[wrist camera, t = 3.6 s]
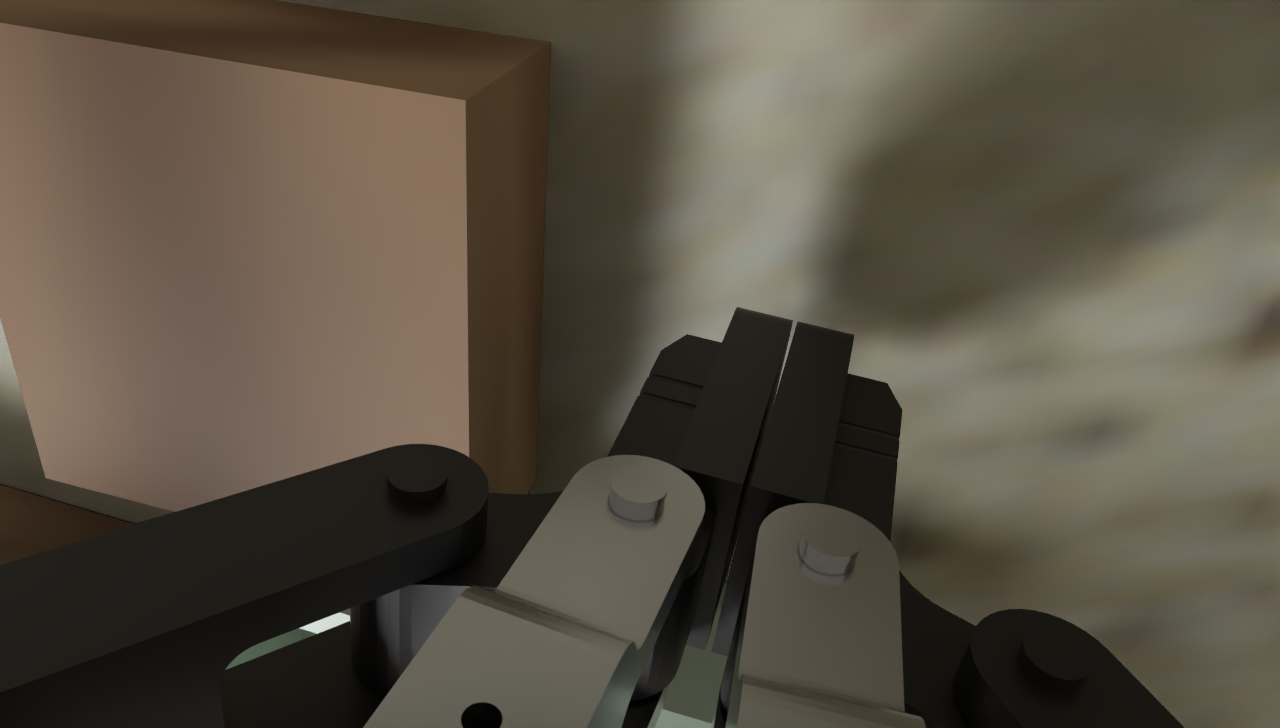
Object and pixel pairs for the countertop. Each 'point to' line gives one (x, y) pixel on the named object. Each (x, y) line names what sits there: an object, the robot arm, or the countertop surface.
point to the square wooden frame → (44, 524)
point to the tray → (688, 692)
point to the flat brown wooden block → (268, 241)
